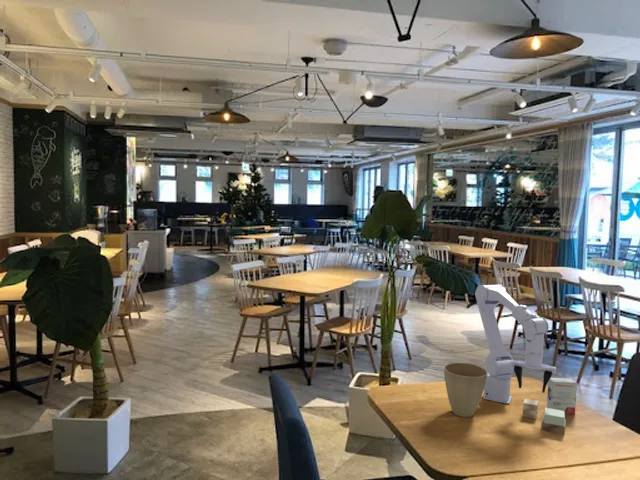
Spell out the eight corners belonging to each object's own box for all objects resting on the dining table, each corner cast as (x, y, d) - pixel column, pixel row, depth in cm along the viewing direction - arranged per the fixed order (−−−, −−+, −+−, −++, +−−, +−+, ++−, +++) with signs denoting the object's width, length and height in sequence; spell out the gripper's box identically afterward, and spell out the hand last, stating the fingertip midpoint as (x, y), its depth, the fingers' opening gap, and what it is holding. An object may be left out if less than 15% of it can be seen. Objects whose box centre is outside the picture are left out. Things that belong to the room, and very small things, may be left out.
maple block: (522, 416, 180) (523, 402, 180) (524, 411, 184) (524, 398, 184) (536, 419, 178) (537, 405, 177) (537, 414, 182) (538, 401, 181)
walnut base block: (541, 431, 170) (541, 422, 169) (542, 423, 176) (543, 414, 175) (564, 436, 166) (564, 427, 166) (565, 427, 172) (565, 419, 172)
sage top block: (544, 422, 169) (544, 414, 169) (544, 416, 174) (544, 407, 174) (564, 426, 166) (564, 417, 166) (563, 419, 172) (564, 410, 172)
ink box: (570, 409, 187) (572, 378, 186) (575, 414, 182) (577, 382, 181) (545, 407, 188) (548, 376, 187) (550, 413, 183) (552, 381, 182)
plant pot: (438, 417, 177) (440, 372, 176) (445, 401, 191) (447, 360, 190) (483, 425, 171) (486, 379, 170) (486, 409, 185) (489, 366, 184)
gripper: (510, 351, 179) (508, 388, 180) (556, 358, 172) (553, 397, 173) (513, 346, 185) (511, 382, 186) (557, 353, 178) (554, 390, 179)
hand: (531, 389), depth 180 cm, fingers open, 7 cm apart
